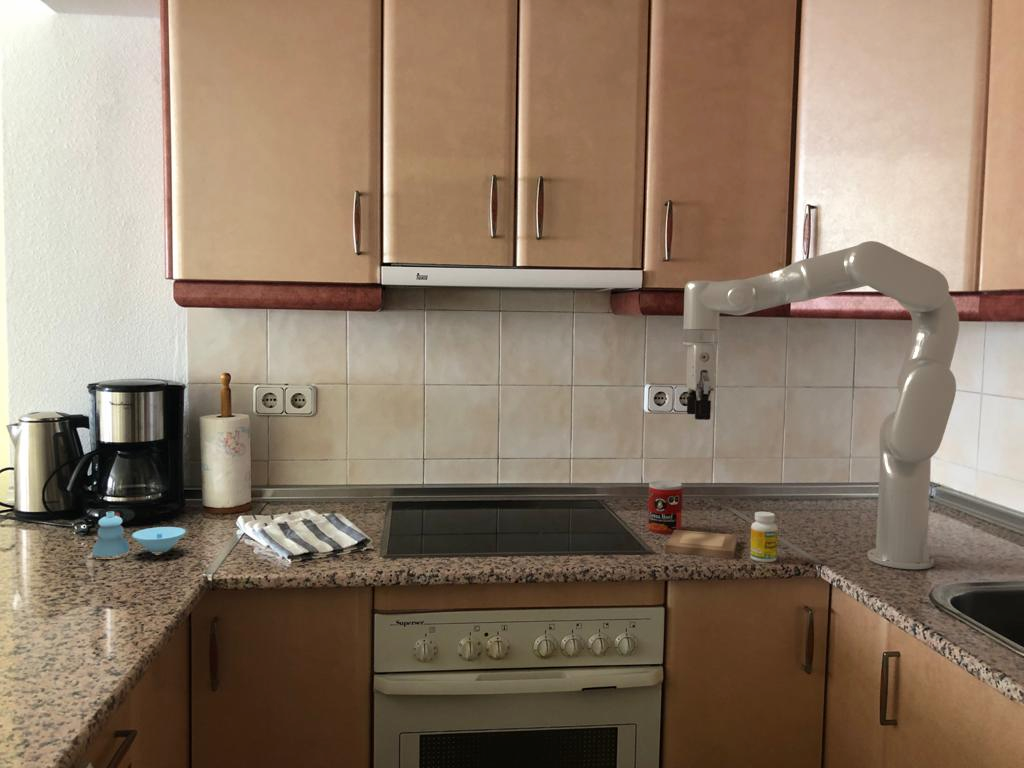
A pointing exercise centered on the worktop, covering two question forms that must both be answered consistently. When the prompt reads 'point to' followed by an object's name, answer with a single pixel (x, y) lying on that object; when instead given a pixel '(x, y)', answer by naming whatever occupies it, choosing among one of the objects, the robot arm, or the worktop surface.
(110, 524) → the light blue rounded pieces
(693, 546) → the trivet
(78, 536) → the worktop surface
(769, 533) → the supplement bottle
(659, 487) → the canned food
